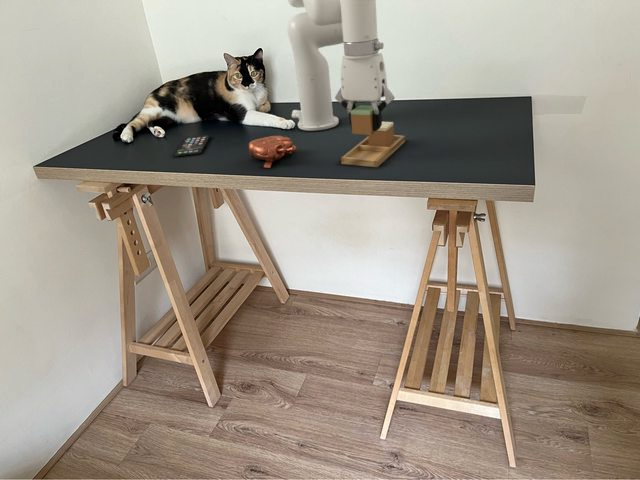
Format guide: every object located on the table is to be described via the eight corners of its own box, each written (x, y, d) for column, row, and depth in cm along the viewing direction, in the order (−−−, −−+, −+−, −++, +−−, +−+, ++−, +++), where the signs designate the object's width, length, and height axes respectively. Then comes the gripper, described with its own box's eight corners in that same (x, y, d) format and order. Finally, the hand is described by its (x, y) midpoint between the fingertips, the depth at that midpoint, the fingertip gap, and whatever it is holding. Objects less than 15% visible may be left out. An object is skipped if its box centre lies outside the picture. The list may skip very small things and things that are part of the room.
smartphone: (174, 154, 138) (185, 137, 151) (174, 157, 138) (186, 139, 151) (200, 152, 138) (209, 134, 151) (200, 154, 138) (210, 137, 151)
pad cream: (368, 147, 128) (367, 127, 125) (376, 141, 131) (375, 121, 128) (386, 149, 125) (386, 128, 123) (394, 142, 129) (393, 122, 126)
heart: (235, 143, 124) (288, 146, 118) (259, 131, 133) (309, 134, 128) (238, 165, 126) (290, 170, 121) (261, 152, 136) (310, 156, 130)
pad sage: (352, 133, 118) (350, 111, 115) (361, 127, 121) (359, 105, 119) (371, 135, 115) (370, 111, 113) (379, 128, 119) (378, 105, 116)
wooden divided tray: (341, 163, 121) (340, 157, 120) (371, 139, 134) (371, 133, 134) (377, 167, 116) (377, 161, 116) (405, 141, 130) (405, 135, 129)
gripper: (403, 44, 108) (405, 125, 117) (334, 46, 116) (341, 122, 125) (390, 51, 103) (393, 135, 111) (319, 52, 111) (327, 131, 119)
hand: (365, 127), depth 118 cm, fingers closed on pad sage, 5 cm apart
